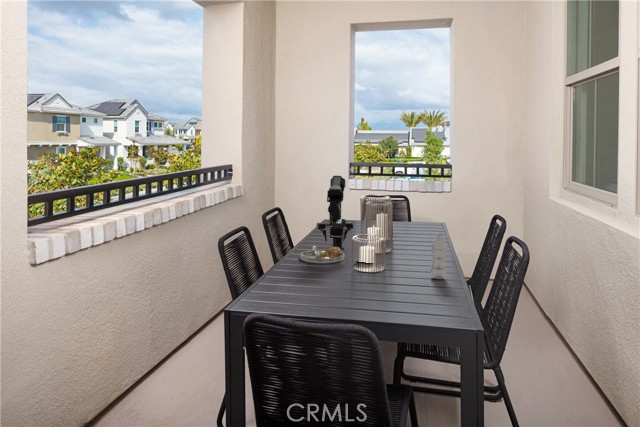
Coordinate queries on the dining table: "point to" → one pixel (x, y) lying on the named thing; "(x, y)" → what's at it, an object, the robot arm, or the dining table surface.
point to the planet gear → (334, 252)
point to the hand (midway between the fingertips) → (334, 241)
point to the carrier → (320, 256)
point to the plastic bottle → (438, 257)
